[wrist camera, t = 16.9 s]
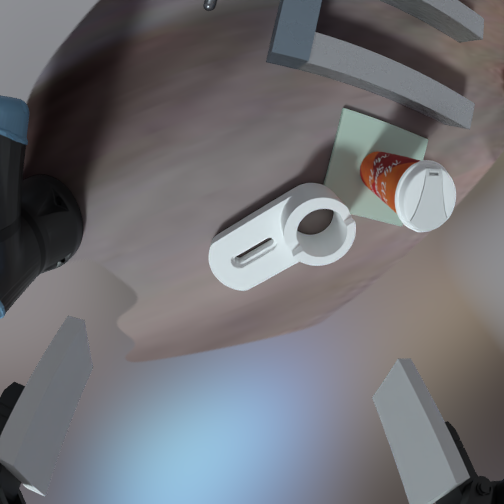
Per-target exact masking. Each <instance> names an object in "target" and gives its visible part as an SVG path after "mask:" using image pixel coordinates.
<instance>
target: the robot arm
mask: <svg viewBox="0 0 504 504" xmlns="http://www.w3.org/2000/svg"><path fill="white" fill-rule="evenodd" d="M28 120H29V109H28V106H27V104H26V103H25V102H24V101H22V100H21V99H17V98H12V97H7V96H0V319H1V318H3V317H4V316H5V313H6V312H7V311H8V310H9V308H10V307H11V306H12V305H13V304H14V302H15V301H16V300H17V299H18V298H19V297H20V295H21V294H22V293H23V292H24V291H25V290H26V288H27V287H28V286H29V285H30V284H31V283H32V282H33V281H34V279H35V278H36V277H37V276H38V275H39V274H41V273H44V272H46V271H49V270H52V269H55V268H58V267H60V266H62V265H63V264H65V263H66V262H67V261H68V260H69V259H70V258H71V257H72V256H73V255H74V254H75V253H76V251H77V249H78V248H79V245H80V243H81V239H82V232H83V225H82V217H81V213H80V210H79V207H78V204H77V202H76V200H75V198H74V197H73V195H72V194H71V192H70V191H69V190H68V188H67V187H66V186H65V185H64V184H63V183H61V182H60V181H59V180H57V179H55V178H53V177H51V176H48V175H34V176H31V177H29V178H26V179H24V180H23V169H24V159H25V150H26V145H27V144H28V140H27V128H28ZM92 369H93V363H92V359H91V354H90V348H89V343H88V337H87V332H86V325H85V320H83V319H79V318H75V317H71V316H68V317H67V318H66V320H65V321H64V323H63V324H62V326H61V327H60V329H59V330H58V332H57V334H56V335H55V337H54V338H53V340H52V342H51V343H50V345H49V346H48V348H47V350H46V351H45V353H44V355H43V356H42V358H41V360H40V361H39V363H38V365H37V366H36V368H35V370H34V372H33V374H32V375H31V377H30V379H29V381H28V382H27V384H26V386H23V385H21V384H18V383H16V382H13V383H12V384H11V385H10V386H8V387H7V388H6V389H5V390H4V391H3V393H2V395H1V397H0V504H26V502H25V500H24V498H23V495H22V493H21V491H20V489H19V487H20V484H21V483H22V484H23V485H24V486H25V487H26V488H28V489H30V490H32V491H34V492H36V493H38V494H40V495H43V496H46V494H47V491H48V487H49V484H50V481H51V477H52V474H53V471H54V468H55V465H56V462H57V459H58V456H59V453H60V450H61V447H62V444H63V442H64V439H65V436H66V433H67V431H68V428H69V425H70V422H71V420H72V417H73V415H74V412H75V410H76V407H77V405H78V402H79V400H80V397H81V395H82V392H83V390H84V388H85V385H86V383H87V380H88V378H89V376H90V374H91V371H92ZM372 398H373V401H374V403H375V406H376V409H377V412H378V414H379V417H380V419H381V422H382V425H383V428H384V430H385V433H386V436H387V439H388V441H389V444H390V447H391V450H392V453H393V455H394V458H395V461H396V464H397V467H398V470H399V473H400V476H401V479H402V482H403V485H404V488H405V491H406V495H407V498H408V501H409V504H432V503H434V502H436V504H504V479H503V480H502V481H492V482H490V481H489V479H487V478H486V477H484V476H479V477H478V475H477V474H476V472H475V470H474V468H473V466H472V463H471V461H470V459H469V457H468V455H467V452H466V450H465V448H463V444H462V442H461V441H460V438H459V436H458V434H457V432H456V430H455V428H454V427H453V426H452V425H451V424H450V423H449V422H444V420H443V418H442V416H441V414H440V412H439V410H438V408H437V406H436V404H435V402H434V400H433V399H432V397H431V395H430V393H429V391H428V389H427V387H426V385H425V383H424V382H423V380H422V378H421V376H420V374H419V372H418V371H417V369H416V367H415V365H414V363H413V362H412V360H411V359H398V360H397V361H396V363H395V364H394V366H393V367H392V369H391V370H390V372H389V374H388V375H387V377H386V378H385V380H384V381H383V383H382V384H381V386H380V387H379V388H378V390H377V391H376V393H375V394H374V396H373V397H372Z"/></svg>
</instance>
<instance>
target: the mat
mask: <svg viewBox="0 0 504 504" xmlns="http://www.w3.org/2000/svg"><path fill="white" fill-rule="evenodd" d="M427 143H428V139H426V138H423V137H421V136H419V135H416V134H414V133H411V132H409V131H407V130H404V129H402V128H399V127H397V126H394V125H391V124H389V123H386V122H383V121H381V120H378V119H375V118H372V117H370V116H367V115H364V114H361V113H358V112H355V111H352V110H349V109H345V108H342V113H341V117H340V121H339V125H338V129H337V134H336V138H335V142H334V146H333V150H332V154H331V158H330V161H329V165H328V169H327V173H326V177H325V181H324V184H323V185H324V186H326V187H328V188H329V189H331V190H332V191H333V192H334V193H335V194H336V195H337V196H338V198H339V199H340V200H341V201H342V202H343V203H344V204H345V205H346V207H347V208H348V210H349V212H350V214H353V215H357V216H361V217H365V218H370V219H374V220H378V221H382V222H386V223H390V224H394V225H398V226H402V225H403V223H402V222H401V220H400V219H399V217H398V215H397V214H396V213H395V212H394V211H393V210H392V209H391V208H390V207H389V206H388V205H387V204H385V203H384V202H383V201H382V200H381V199H380V198H379V197H378V196H376V195H375V194H374V193H373V192H372V191H371V190H370V189H369V188H368V187H367V186H366V185H365V184H364V183H363V181H362V179H361V176H360V166H361V163H362V161H363V159H364V158H365V157H366V156H367V155H368V154H370V153H372V152H378V151H379V152H386V153H391V154H396V155H400V156H405V157H409V158H413V159H416V160H420V161H423V158H424V154H425V151H426V147H427Z"/></svg>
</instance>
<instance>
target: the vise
mask: <svg viewBox="0 0 504 504" xmlns="http://www.w3.org/2000/svg"><path fill="white" fill-rule="evenodd" d="M380 1H383V2H385V3H387V4H389V5H392V6H394V7H396V8H398V9H400V10H402V11H404V12H406V13H408V14H410V15H412V16H414V17H416V18H418V19H420V20H422V21H424V22H425V23H427V24H429V25H431V26H433V27H434V28H436V29H438V30H440V31H441V32H443V33H445V34H446V35H448V36H450V37H451V38H453V39H454V40H456V41H457V42H459V43H461V42H467V41H474V40H481V39H483V28H484V18H482V17H481V16H480V15H478V14H477V13H476V12H474V11H473V10H471V9H470V8H469V7H467V6H466V5H464V4H463V3H461V2H460V1H458V0H380ZM321 2H322V0H280V4H279V8H278V13H277V17H276V21H275V25H274V29H273V34H272V38H271V42H270V47H269V51H268V55H267V60H266V62H268V63H272V64H277V65H281V66H286V67H290V68H294V69H298V70H302V71H306V72H309V73H313V74H317V75H320V76H324V77H327V78H330V79H334V80H337V81H340V82H343V83H346V84H349V85H352V86H355V87H358V88H361V89H364V90H366V91H369V92H372V93H374V94H377V95H380V96H382V97H385V98H387V99H390V100H392V101H395V102H397V103H400V104H402V105H404V106H407V107H409V108H411V109H413V110H416V111H418V112H420V113H422V114H424V115H427V116H429V117H431V118H433V119H435V120H437V121H439V122H441V123H443V124H445V125H449V126H454V127H460V128H464V129H469V130H470V126H471V121H472V116H473V111H474V105H475V104H474V103H473V102H471V101H470V100H468V99H466V98H465V97H463V96H461V95H460V94H458V93H456V92H455V91H453V90H451V89H450V88H448V87H446V86H444V85H442V84H441V83H439V82H437V81H435V80H433V79H431V78H429V77H427V76H426V75H424V74H422V73H420V72H418V71H416V70H413V69H411V68H409V67H407V66H405V65H403V64H401V63H399V62H396V61H394V60H392V59H389V58H387V57H385V56H382V55H380V54H377V53H375V52H372V51H370V50H367V49H365V48H362V47H359V46H357V45H354V44H351V43H348V42H345V41H342V40H339V39H336V38H333V37H330V36H327V35H324V34H320V33H317V32H315V30H316V26H317V21H318V17H319V12H320V7H321ZM216 3H217V0H205V1H204V5H203V7H204V9H205V10H207V11H211V10H213V9H214V8H215V6H216Z"/></svg>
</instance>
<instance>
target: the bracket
mask: <svg viewBox="0 0 504 504" xmlns="http://www.w3.org/2000/svg"><path fill="white" fill-rule="evenodd" d="M318 209H330V210H333V219H332V221H331V223H330V225H329V226H328V227H327V228H326V229H325V230H324V231H322V232H320V233H318V234H313V235H307V234H303V233H300V232H299V231H297V228H298V225H299V223H300V222H301V220H302V219H303V218H304V217H305V216H306V215H307V214H309V213H310V212H312V211H314V210H318ZM355 233H356V225H355V221H354V220H353V218H352V217H351V214H350V212H349V210H348V208H347V207H346V205H345V204H344V203H343V202H342V201H341V200H340V199H339V198H338V196H337V195H336V194H335V193H334V192H333V191H332V190H331V189H329V188H328V187H326V186H324V185H322V184H318V183H305V184H301V185H299V186H297V187H295V188H293V189H292V190H290V191H288V192H286V193H285V194H283V195H281V196H280V197H278V198H276V199H275V200H273V201H271V202H270V203H268V204H266V205H265V206H263V207H261V208H260V209H258V210H256V211H255V212H253V213H252V214H250V215H248V216H247V217H245V218H243V219H242V220H240V221H238V222H237V223H235V224H234V225H232V226H230V227H229V228H227V229H225V230H224V231H222V232H221V233H219V234H217V235H216V236H215V237H214V238H213V239H212V243H211V246H210V251H209V264H210V267H211V270H212V272H213V274H214V275H215V276H216V278H217V279H218V280H219V281H220V282H222V283H223V284H224V285H226V286H228V287H230V288H233V289H236V290H240V291H246V290H249V289H250V288H252V287H254V286H256V285H258V284H260V283H261V282H263V281H265V280H267V279H269V278H271V277H272V276H274V275H276V274H278V273H280V272H281V271H283V270H285V269H287V268H289V267H290V266H292V265H294V264H296V263H298V262H299V261H300V262H302V263H304V264H308V265H313V266H321V265H326V264H330V263H332V262H334V261H336V260H338V259H340V258H341V257H342V256H343V255H344V254H345V253H346V252H347V251H348V250H349V248H350V247H351V245H352V243H353V241H354V238H355ZM267 238H272V239H271V240H269V241H268V242H266V243H264V244H263V245H261V246H259V247H257V248H256V249H254V250H252V251H250V252H249V253H247V254H245V255H244V256H242V257H240V258H238V257H236V256H238V255H240V254H241V253H243V252H245V251H246V250H248V249H250V248H251V247H253V246H255V245H257V244H258V243H260V242H262V241H263V240H265V239H267Z"/></svg>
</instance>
